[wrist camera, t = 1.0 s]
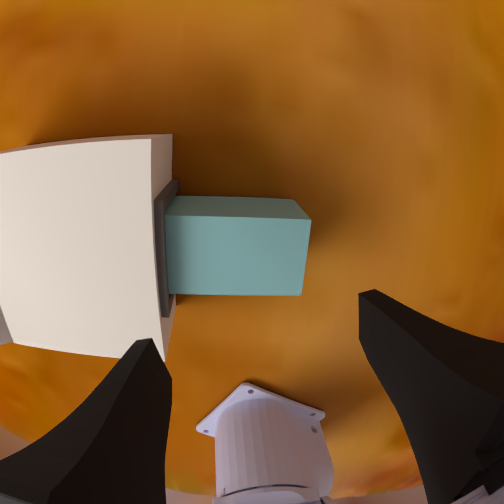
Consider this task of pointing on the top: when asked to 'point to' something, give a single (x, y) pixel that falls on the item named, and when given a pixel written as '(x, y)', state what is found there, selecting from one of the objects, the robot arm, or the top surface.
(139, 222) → the socket block
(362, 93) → the top surface
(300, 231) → the peg
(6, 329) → the flask
